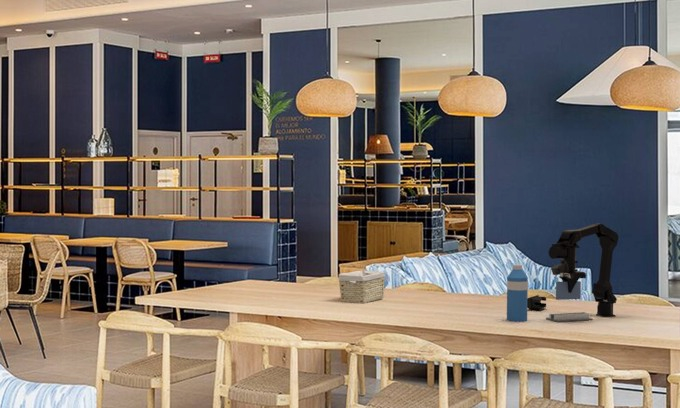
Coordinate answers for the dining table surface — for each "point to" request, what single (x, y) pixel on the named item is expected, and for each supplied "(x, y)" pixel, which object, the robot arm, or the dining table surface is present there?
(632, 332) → the dining table surface
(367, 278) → the storage basket
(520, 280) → the water bottle
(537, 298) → the end cap
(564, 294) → the door panel
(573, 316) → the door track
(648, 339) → the dining table surface
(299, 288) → the dining table surface
